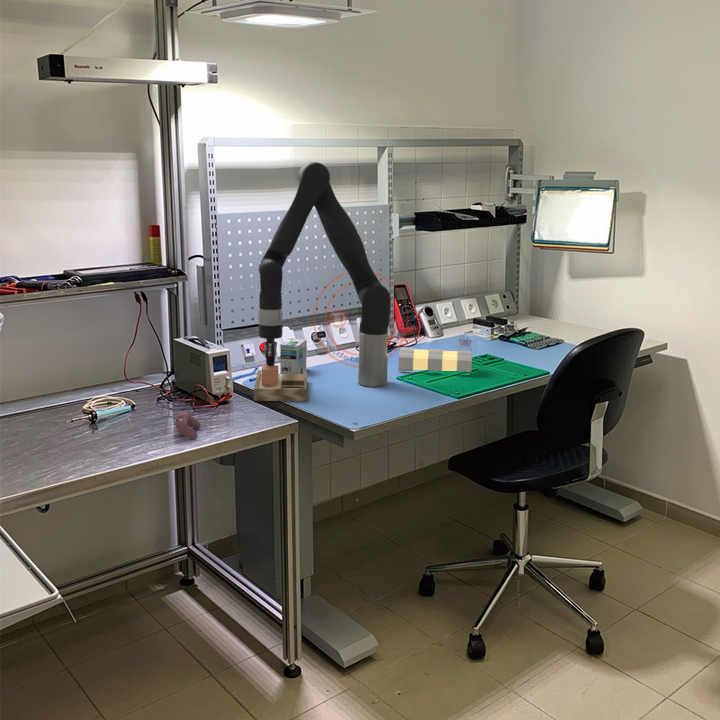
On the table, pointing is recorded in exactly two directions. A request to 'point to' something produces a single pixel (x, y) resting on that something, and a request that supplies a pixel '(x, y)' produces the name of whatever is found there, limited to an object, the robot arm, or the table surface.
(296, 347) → the light bulb box
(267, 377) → the block
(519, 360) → the table surface
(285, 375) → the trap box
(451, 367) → the gray yellow striped block
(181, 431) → the video game controller
